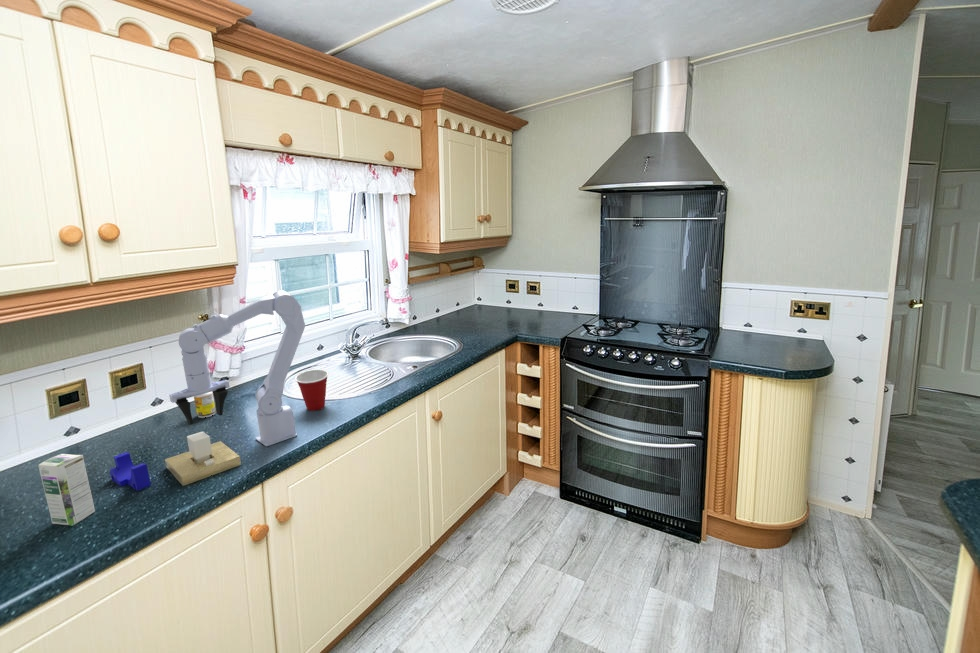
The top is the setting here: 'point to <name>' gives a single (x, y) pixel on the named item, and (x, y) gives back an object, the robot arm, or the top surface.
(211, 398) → the supplement bottle
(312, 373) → the plastic cup
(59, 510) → the syrup box
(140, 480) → the cable clip
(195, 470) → the socket plate
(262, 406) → the robot arm
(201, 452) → the plug
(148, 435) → the top surface
